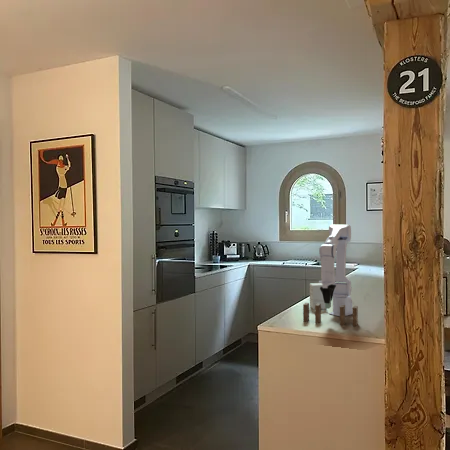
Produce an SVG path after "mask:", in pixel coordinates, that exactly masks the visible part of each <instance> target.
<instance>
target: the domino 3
mask: <svg viewBox="0 0 450 450" xmlns="http://www.w3.org/2000/svg"><path fill="white" fill-rule="evenodd" d="M331 307H332V301H331V298H330V303H325V308H326V309H325V310H327V309H330V308H331Z"/></svg>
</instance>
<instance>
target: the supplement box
mask: <svg viewBox="0 0 450 450" xmlns="http://www.w3.org/2000/svg"><path fill="white" fill-rule="evenodd" d="M320 287H323V284H322V283H319V282H314V283H309V308H311V309H312V310H315V305H316V304H317V303H319V304H321V310H327V309H326V308H325V303H324V299H323V294H322V292H321V290H320Z"/></svg>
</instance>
